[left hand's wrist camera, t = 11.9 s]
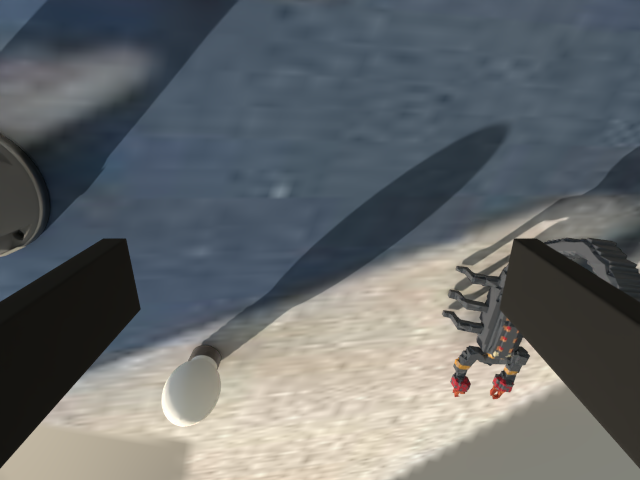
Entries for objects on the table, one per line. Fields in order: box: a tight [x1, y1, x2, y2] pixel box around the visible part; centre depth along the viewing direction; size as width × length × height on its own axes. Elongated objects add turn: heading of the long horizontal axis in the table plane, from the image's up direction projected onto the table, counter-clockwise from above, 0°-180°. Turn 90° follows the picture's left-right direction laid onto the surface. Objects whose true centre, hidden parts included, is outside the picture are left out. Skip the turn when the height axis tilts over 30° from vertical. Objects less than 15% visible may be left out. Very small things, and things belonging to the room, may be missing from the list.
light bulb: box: [162, 345, 221, 426], centre depth 46 cm, size 7×7×11 cm
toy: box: [442, 238, 640, 399], centre depth 39 cm, size 13×27×18 cm, turn 172°
